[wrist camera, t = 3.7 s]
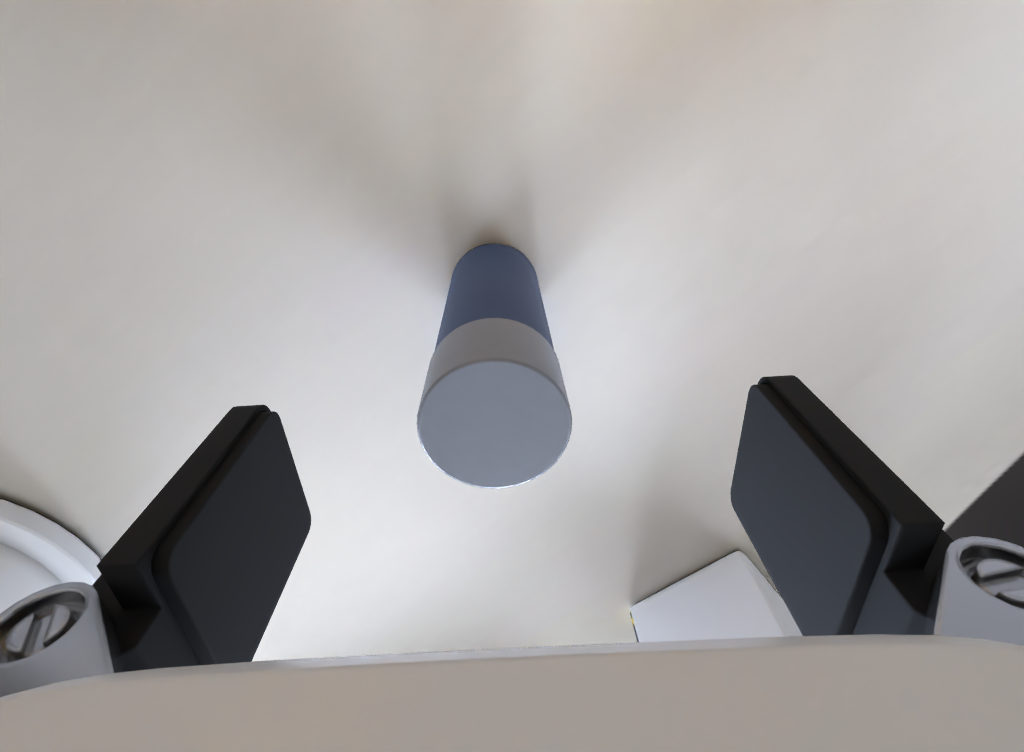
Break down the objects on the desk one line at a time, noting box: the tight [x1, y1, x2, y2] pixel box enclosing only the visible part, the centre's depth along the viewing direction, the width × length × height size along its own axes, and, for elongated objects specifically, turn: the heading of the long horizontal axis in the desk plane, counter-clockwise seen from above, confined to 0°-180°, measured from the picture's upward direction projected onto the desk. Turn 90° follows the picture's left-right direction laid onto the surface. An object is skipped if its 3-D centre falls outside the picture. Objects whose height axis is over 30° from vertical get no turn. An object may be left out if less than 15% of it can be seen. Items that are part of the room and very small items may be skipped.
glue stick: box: [417, 244, 572, 488], centre depth 16 cm, size 4×4×10 cm
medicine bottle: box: [630, 551, 803, 643], centre depth 25 cm, size 7×7×12 cm
